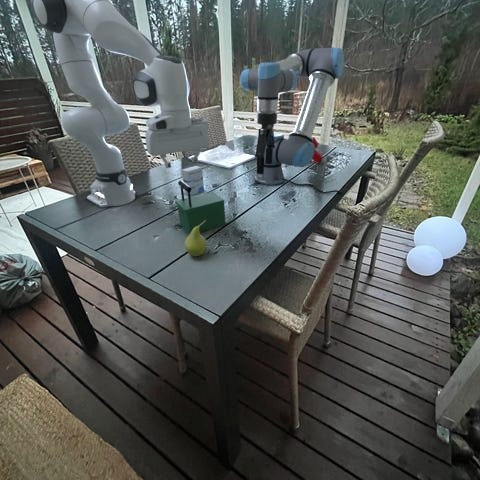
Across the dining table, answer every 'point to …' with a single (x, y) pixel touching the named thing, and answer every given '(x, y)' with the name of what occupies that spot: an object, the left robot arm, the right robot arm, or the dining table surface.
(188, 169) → the ink box
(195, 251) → the fruit
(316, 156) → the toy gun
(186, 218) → the chest
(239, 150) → the relief map
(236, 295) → the dining table surface
